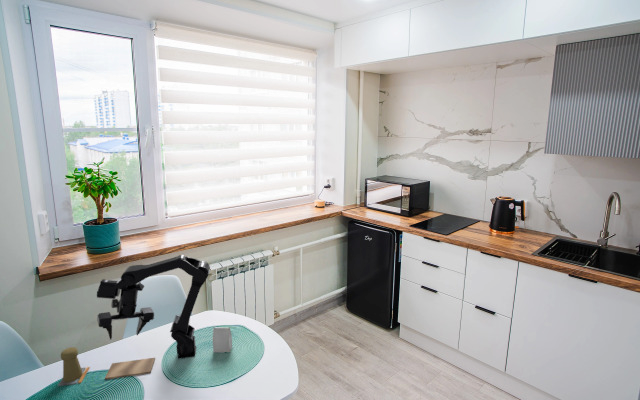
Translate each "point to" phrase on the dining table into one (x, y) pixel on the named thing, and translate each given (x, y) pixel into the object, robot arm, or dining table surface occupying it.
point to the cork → (71, 365)
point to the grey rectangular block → (222, 339)
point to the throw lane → (121, 370)
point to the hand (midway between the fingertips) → (124, 336)
